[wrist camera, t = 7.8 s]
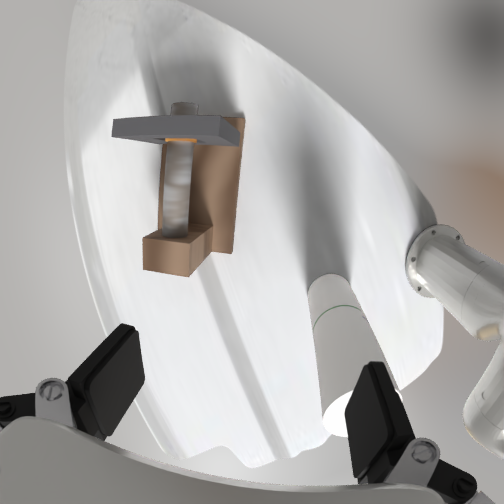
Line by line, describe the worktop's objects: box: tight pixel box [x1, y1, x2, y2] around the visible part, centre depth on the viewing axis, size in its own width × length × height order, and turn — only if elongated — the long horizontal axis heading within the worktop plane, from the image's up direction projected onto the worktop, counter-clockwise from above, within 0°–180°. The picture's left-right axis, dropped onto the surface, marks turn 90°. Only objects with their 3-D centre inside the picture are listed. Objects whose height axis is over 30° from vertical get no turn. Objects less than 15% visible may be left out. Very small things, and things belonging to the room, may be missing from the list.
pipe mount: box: [143, 102, 245, 277], centre depth 35 cm, size 12×20×12 cm, turn 174°
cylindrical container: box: [308, 274, 402, 437], centre depth 31 cm, size 7×7×25 cm
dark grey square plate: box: [112, 115, 240, 147], centre depth 30 cm, size 12×2×12 cm, turn 84°
